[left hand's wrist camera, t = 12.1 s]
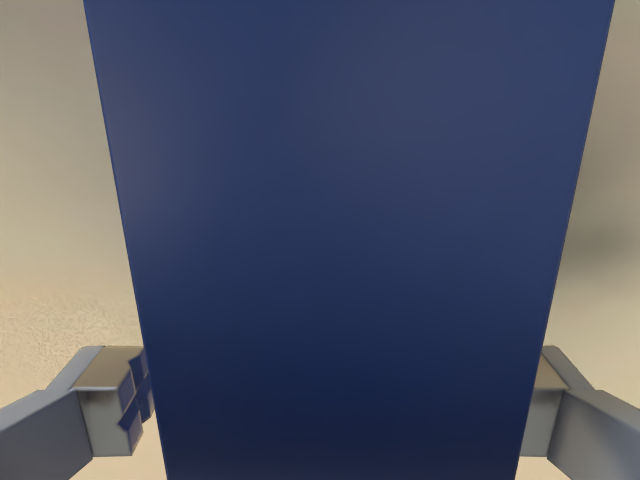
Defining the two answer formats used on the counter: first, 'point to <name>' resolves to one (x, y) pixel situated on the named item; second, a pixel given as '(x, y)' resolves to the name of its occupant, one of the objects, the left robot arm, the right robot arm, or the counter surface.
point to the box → (345, 223)
